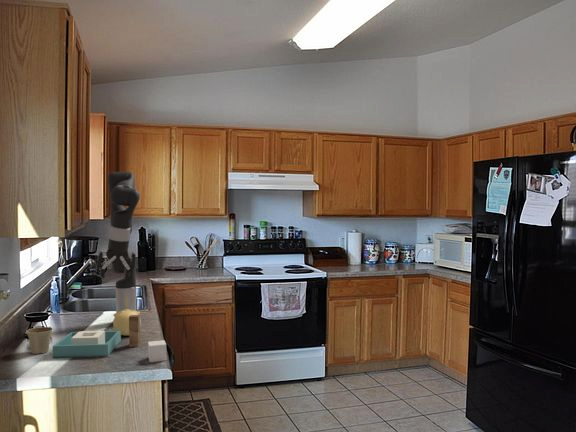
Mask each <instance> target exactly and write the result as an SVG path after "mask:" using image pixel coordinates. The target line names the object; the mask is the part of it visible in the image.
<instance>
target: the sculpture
mask: <svg viewBox="0 0 576 432" xmlns="http://www.w3.org/2000/svg"><path fill="white" fill-rule="evenodd" d="M140 314H141V312H140V311H137V310H136V311H134V310H129V309H126V310H124V311H120V312H118V313H116V312H115V313H113V316H114V318H113V320H112V321H113V322H112V324H113V326H112V327H113V331H121V336H129V316H130V315H140ZM141 324H142V323H141V319H140V326H141Z"/></svg>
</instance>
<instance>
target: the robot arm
mask: <svg viewBox="0 0 576 432" xmlns="http://www.w3.org/2000/svg"><path fill="white" fill-rule="evenodd" d="M135 182H136V181H135V175H134V174H133V173H132V172H130V171H111V172H109V173H108V175H107V183H108V193H109V203H110V204H109V206H110V229H109V238H108V242H107V243H108V245H107V250H106V251H102V250H99V251H98V252H97V253H98V254H97V258H96V264H95V265H96V267H97V268H99V269H100V271H99V276H100V278H101V279H105V275H106V268H107V267H108V266H109V265H111V268H112V272H113V273H115V274H123V278H121V279H119V280H117V281H116V282H115V313H118V312H120V311H124V310H126V309H129V310H134V311H137V282H136V281H137V280H136V278H137V277H136V274H137V272H136V271H137V256H136V253H135V252H129V245H130V238H131V234H132V232H133V221H132V219H133V215H134V212H135V211H136V210H135V209H136V207H137V205H138V204H139V202H140V197H141V195H140V192H139V190H138V189H136V186H135V185H136V183H135ZM126 207H127V208H126ZM105 256H106V259H105V260H104V261H103V258H104V257H105ZM102 261H103V262H102Z"/></svg>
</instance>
